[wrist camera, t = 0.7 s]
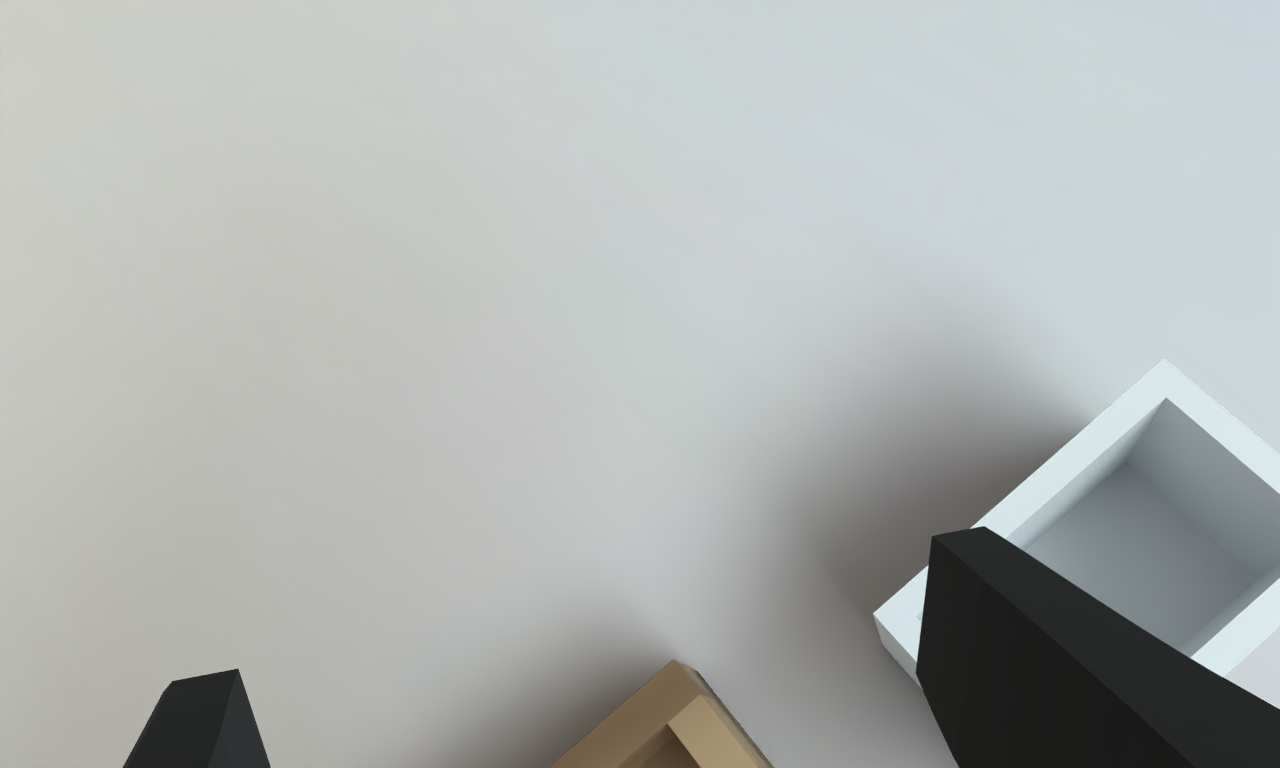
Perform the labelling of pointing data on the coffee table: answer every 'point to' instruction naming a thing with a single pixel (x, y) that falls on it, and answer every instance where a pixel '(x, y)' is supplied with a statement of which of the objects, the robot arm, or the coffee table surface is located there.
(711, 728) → the walnut crate
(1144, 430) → the white crate
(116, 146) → the coffee table surface
